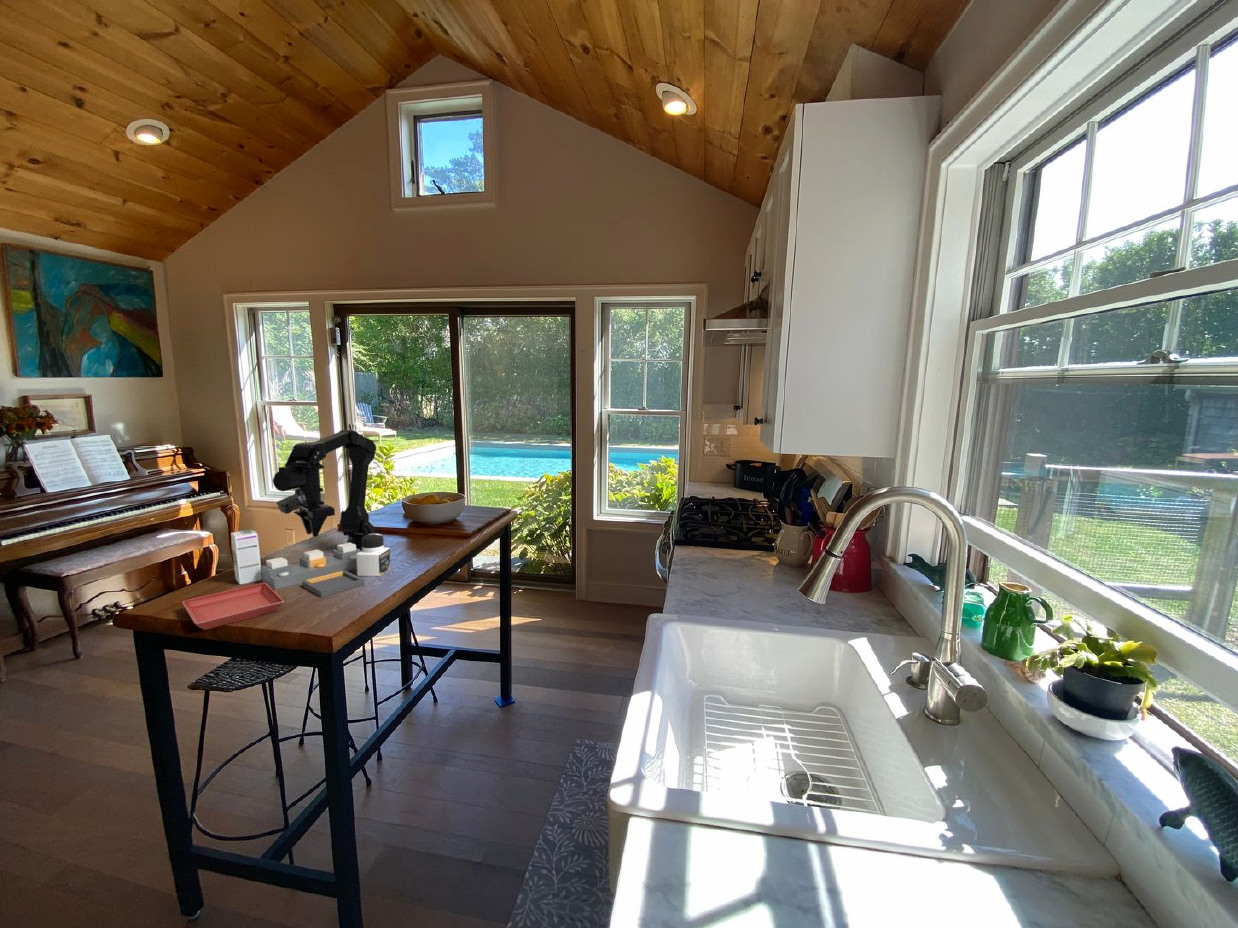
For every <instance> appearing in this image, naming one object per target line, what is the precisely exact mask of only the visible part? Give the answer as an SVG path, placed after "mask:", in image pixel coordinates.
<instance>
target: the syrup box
mask: <svg viewBox="0 0 1238 928" xmlns="http://www.w3.org/2000/svg"><path fill="white" fill-rule="evenodd" d="M258 535H259V534H258V533H257V532H256V531H255V530H254V529H243V530H240V531H235V532H231V533H230V537H231V549H232V559H233V569H234V579H235V580H236V582H237V583H238V584H239V585H244V584H249V583H250V582H251V583H254V582H259V581H263V579H262V565H261V554H260V552H261V551H260V546H259V545H260V544H259V536H258ZM251 583H250V584H251Z"/></svg>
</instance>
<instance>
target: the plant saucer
mask: <svg viewBox="0 0 1238 928" xmlns="http://www.w3.org/2000/svg"><path fill="white" fill-rule="evenodd" d="M284 601H285V599H283V598H282V597H281V596H280V595H279V594H278V593H277V592H276V590H274V589H273V588H271V587H270V586H268V585H267V584H266V583H263V582H260V583H256V584H255V583H254V584H251V585H247V586H242V587H238V588H234V589H229V590H226V591H220V592H216V593H212V594H208V595H202V596H198V597H194V598H190V599H186V600H183V601H182V605H183V606H184V608H185V609H186V612H187V613H188V615H189V616H190V618H191V620H192V622H193V623H194V625H196V626H197V627H198V628H199V629H202V630H204V631H205V630H210V629H213V628H214V629H215V628H217V627H221V626H226V625H229V623H230V624H233V622H234V623H237V622H240V621H241V622H242V621H245V620H249V619H253V618H257V617H260V616H265V615H269V614H272V613H275V612H276V611H277V610H278V609H279V608H280V607H281V605H282V604H283V603H284ZM252 617H253V618H252ZM225 624H226V625H225Z"/></svg>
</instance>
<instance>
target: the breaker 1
mask: <svg viewBox="0 0 1238 928" xmlns="http://www.w3.org/2000/svg"><path fill="white" fill-rule="evenodd" d="M265 562H266V565H267V567H268V568H270V569H275V568H279V567H283V566H288V564H287V563H288V560H287V558H284V557H281V556H280V557H276V558H271V559H267V560H265Z"/></svg>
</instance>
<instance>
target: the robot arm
mask: <svg viewBox="0 0 1238 928" xmlns="http://www.w3.org/2000/svg"><path fill="white" fill-rule="evenodd" d="M342 447H343V448H344V449H346V450H347V451H348V458H349V460H350V462H351V464H352V466H351V475H350V476H351V477H350V487H349V498H348V505H347V507H346V508H345V510H341V512H340V520H339V525H340V529H341V531H342V534H343V536H347V540H346V543H352V544H355V545H356V548H358V549H360V551H362V550H363V549H362V537H364V536H365V535H368V534H375V530H376V528H375V526H374V525H373V524H372V523H371V522H370V518H369V517H370V516H369V512H368V511H367V509H366V505H365V504H366V494H367V487H368V486H367V483H368V474H369V466H370V464H371V463H372V462H373V460H374V459H375V455H376V451H377V445H376V443H375V442H374V441H373V440H372V439H370V438H368V437H365V435H362V434H360V433H359V432H357V431H355V430H353V429H341V430H339V431H338V432H336V433H333V434H331V435H329V436H326V437H324V438H321V439H319V440H315V441H305V442H300V443H296V444H294V446H293V447H292V450H291V452H290V454H289V456H288V459H287V460H286V462H285V464H284V466H279V467H278V471H277V472H276V473H275V474H274V475H273V478H272V485H273V486H274V487H275V488H276V489H277V490H278V491H279V492H286V491H292V490H294V494H292V495H289V496H287V497H285V498H282V499H279V500H278V501H277V502H276V504H277V507H278V509H279V510H280V512H281V513H283V514H284V515H287V514H291V513H293V514H295V515H296V516H297V517H299V518H300V520H301V522H302V524H303V527H304V530H305V532H306V534H307V535H311V534H312V536H313V538H316V537H318V536H319V534H320V532H321V530H322V527H323V525H324V523H325V521H326V520H327V518H328V517H332V516H335V515H336V510H335V508H334V507H333V506H331V505H328V504H325V501H323V500H322V495H321V493H323V492H324V488H323V487H321V478H320V477H321V475H320V470H322V469H325V465H324V464H322V463H320V462H321V461H323V460H324V459H325V458H326V457H327V455H328V454H329V453H331V452H333V451H335V450H337V449H339V448H342Z"/></svg>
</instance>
